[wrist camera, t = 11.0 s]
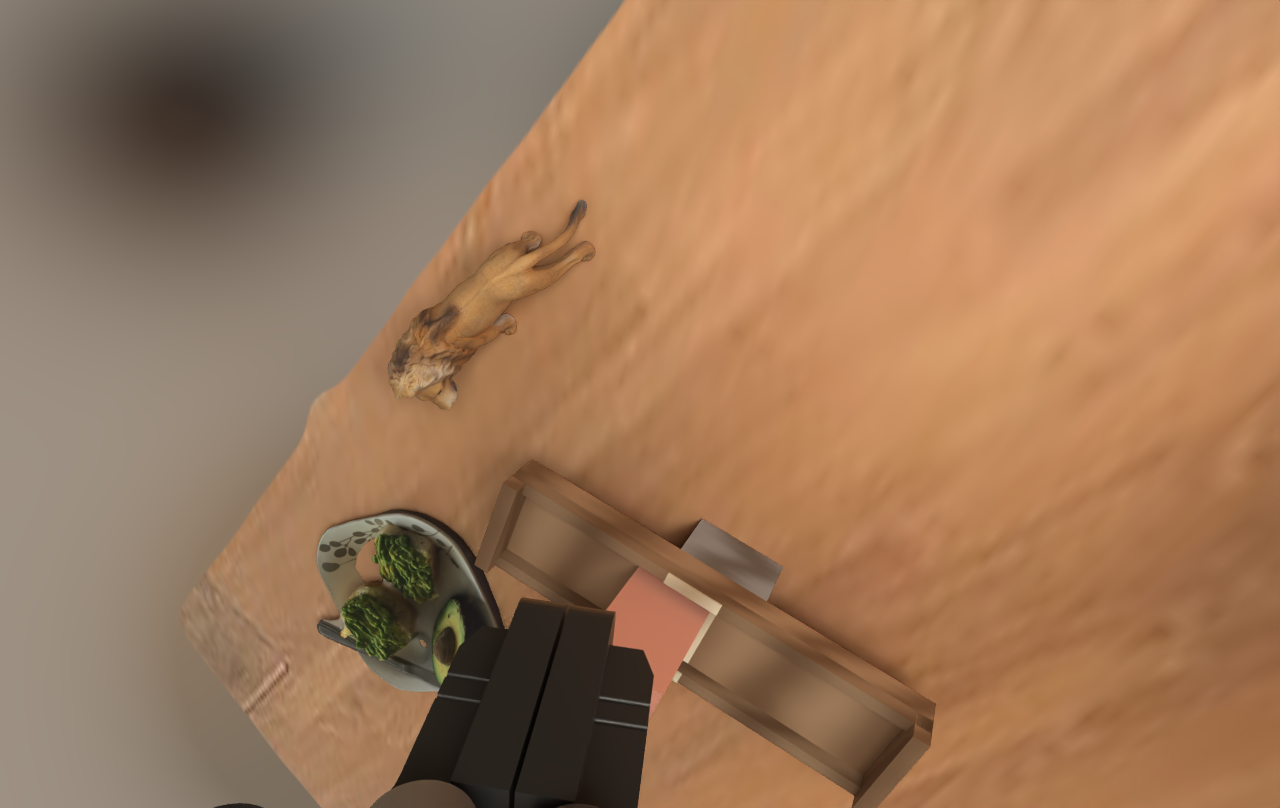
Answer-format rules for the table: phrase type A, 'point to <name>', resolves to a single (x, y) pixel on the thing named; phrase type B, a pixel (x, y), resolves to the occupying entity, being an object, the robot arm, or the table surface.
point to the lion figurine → (476, 314)
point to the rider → (656, 626)
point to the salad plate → (405, 596)
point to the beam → (719, 630)
